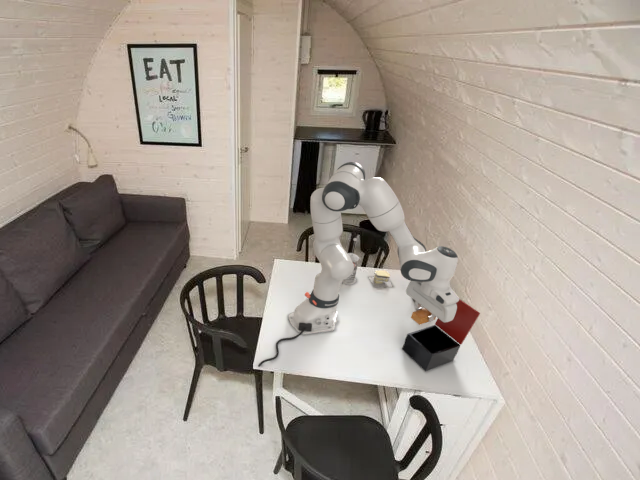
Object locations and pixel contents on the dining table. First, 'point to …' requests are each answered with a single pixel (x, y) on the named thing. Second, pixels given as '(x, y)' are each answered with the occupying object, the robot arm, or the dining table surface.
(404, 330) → the dining table surface
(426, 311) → the bread roll
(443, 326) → the red box lid
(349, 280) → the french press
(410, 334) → the black hinged box
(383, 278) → the stacked layers on plate
